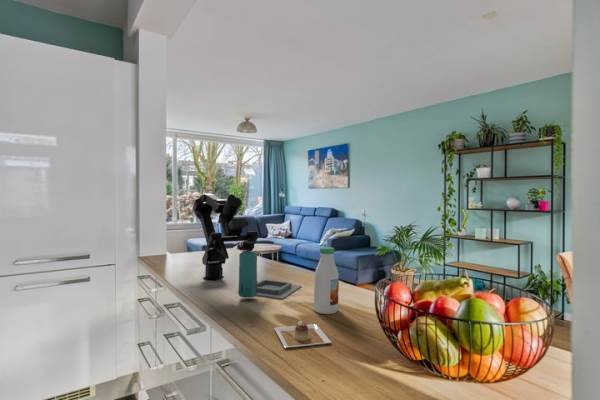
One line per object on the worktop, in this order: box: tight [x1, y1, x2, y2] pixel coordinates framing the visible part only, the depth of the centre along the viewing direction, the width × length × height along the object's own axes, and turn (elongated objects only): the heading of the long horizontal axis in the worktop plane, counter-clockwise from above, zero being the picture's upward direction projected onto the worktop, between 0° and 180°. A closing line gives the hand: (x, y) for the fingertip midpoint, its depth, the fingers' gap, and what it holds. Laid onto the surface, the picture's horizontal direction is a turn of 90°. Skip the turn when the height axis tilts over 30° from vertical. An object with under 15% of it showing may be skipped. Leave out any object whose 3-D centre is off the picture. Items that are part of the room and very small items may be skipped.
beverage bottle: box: [237, 241, 258, 299], centre depth 114 cm, size 6×7×20 cm
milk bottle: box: [313, 246, 340, 315], centre depth 105 cm, size 8×8×20 cm
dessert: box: [274, 320, 332, 349], centre depth 85 cm, size 12×12×5 cm
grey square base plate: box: [237, 279, 302, 301], centre depth 127 cm, size 18×18×2 cm
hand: (239, 257), depth 120 cm, fingers open, 9 cm apart
